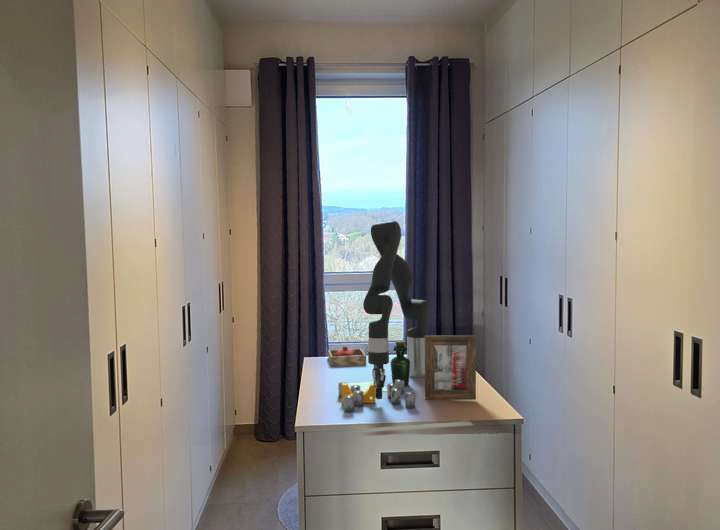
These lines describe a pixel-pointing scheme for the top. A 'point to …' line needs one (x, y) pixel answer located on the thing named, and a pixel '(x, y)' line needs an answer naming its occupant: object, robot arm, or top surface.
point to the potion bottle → (400, 364)
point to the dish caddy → (347, 358)
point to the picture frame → (450, 367)
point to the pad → (364, 386)
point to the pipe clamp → (366, 395)
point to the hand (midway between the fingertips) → (378, 398)
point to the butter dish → (345, 352)
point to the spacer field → (392, 393)
